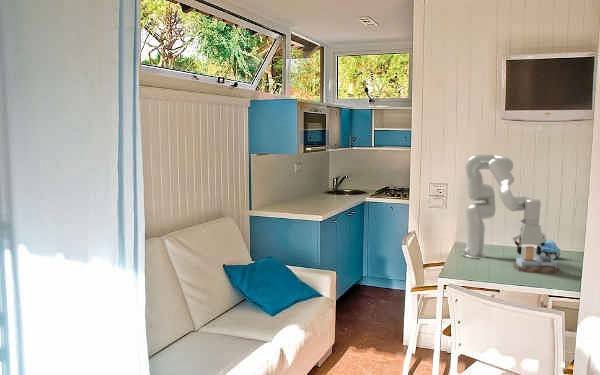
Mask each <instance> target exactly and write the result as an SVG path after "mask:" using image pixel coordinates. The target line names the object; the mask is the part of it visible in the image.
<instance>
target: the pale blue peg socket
mask: <svg viewBox="0 0 600 375" xmlns="http://www.w3.org/2000/svg"><path fill="white" fill-rule="evenodd" d="M515 261H516V262H515V263H516V264H517V265H518V266H520V267H521V271H523V268H524V266H552V267H556V270H557V267H558V262H556V261H555V260H552V259H551V258H549V257H547V256H540V255H539V257H538V256H533V261H525V257H516V260H515Z"/></svg>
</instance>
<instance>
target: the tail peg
mask: <svg viewBox="0 0 600 375" xmlns="http://www.w3.org/2000/svg"><path fill="white" fill-rule="evenodd" d="M534 251H535V247H534V246H533V245H526V246H525V252H524V258H525V261H533V257H534Z"/></svg>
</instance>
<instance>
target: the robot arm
mask: <svg viewBox="0 0 600 375" xmlns="http://www.w3.org/2000/svg"><path fill="white" fill-rule="evenodd" d="M513 169H514V162H513V161H512V159H510V158H509V157H506V156H500V155H497V154H475V155H471V156H470V157H469V158H468V159H467V160H466V162H465V171H466V172H465V173H466V176H467V193H468V197H469V200H471V201H472V202H473V201H475V202H476V203H471V204H470V205H468V206H467V209H466V218H467V233H466V247H464V248H458V249H457V252H458V253H461V254H463V256H464V257H465V258H469V259H475V260H476V259H479V260H480V259H485V258H487V256H486V254H485V253H484V247H485V230H486V229H485V228H486V227H485V223H484V220H488V219H491V218H493V217H495V214H496V198H495V196H496V195H495V190H494V188H493V187H492V186H491V185H490V184H487V183H486V184H485V183H484V181H483V174H482V172H481V171H480V170H490V172H491V173H492V175H493V177H494V179H495V180H496V182H497V183H498V186H499V188H498V189H499V190H498V191H499V198H500V200H501V202H502V204H503V205H504V207H505V208H506V209H507V210H508V211H510V212H522V211H523V212H524V213H523V218H522V219H520V223H522V224H521V225H520V226H521V227H520V231H519V235H516V236H514V237H513V238H512V240H513V243H514V244H515V245H516V246H517V247H516V248H517V249H516V252H517V254H519V255H522V250H523V249H522V246H523V245H535V246H536V245H537V246H536V252H535V254H536V255H538V256H540V253H541V248H542V246H544V245H545V243H546V242H547V241H548V239H547V238H546V239H545V238H543V237H541V231H542V228H541V225H540V219H541V218H540V216H541V205H542V202H541V200H540V199H536V198H532V197H531V198H530V197H528V196H514V195H513V193H512V191H511V189H510V186H511V185H512V184H513V183H514V182H515V177H514V176H513V174H512V173H511V172H512V170H513ZM478 201H480V202H478ZM541 239H542V240H543V242H542V243H541ZM517 240H519V241H517Z"/></svg>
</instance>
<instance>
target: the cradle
mask: <svg viewBox="0 0 600 375" xmlns="http://www.w3.org/2000/svg"><path fill="white" fill-rule="evenodd" d="M512 267H513V268H514V269H515V270H516V271H517V272H519V273H530V274H531V273H537V274H557V275H558V274H562V273H561V272H560V268H559V267H558V266H557V270H556V267H552V266H524V268H523V271H521V267H520V266H518V265H517V264H516V262H513V263H512Z"/></svg>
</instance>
